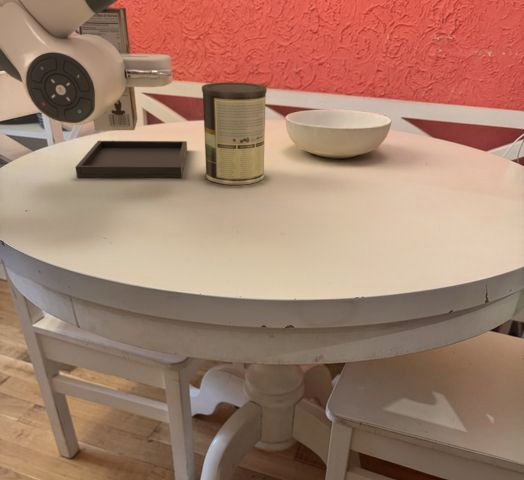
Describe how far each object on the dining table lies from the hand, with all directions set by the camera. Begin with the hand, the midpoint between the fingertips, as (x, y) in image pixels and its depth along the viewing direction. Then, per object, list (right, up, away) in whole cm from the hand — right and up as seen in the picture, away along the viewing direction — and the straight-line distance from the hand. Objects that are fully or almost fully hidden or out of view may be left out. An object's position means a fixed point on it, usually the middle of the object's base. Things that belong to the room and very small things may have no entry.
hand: (110, 63), depth 78 cm
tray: (0, -10, +15) cm, 18 cm away
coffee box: (0, -8, +4) cm, 9 cm away
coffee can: (+19, -15, +9) cm, 26 cm away
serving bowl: (+39, -4, +25) cm, 46 cm away
